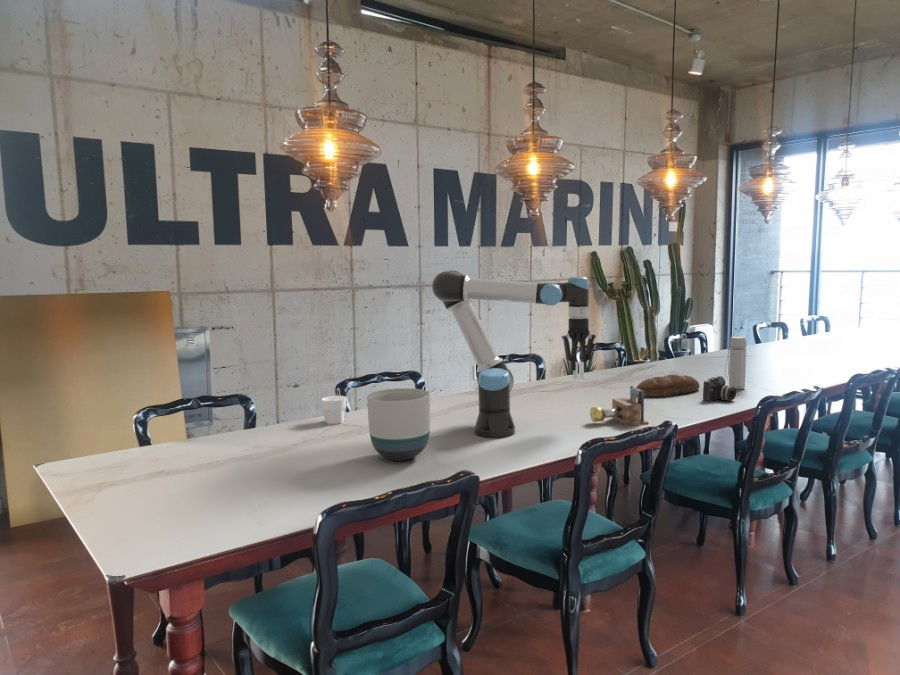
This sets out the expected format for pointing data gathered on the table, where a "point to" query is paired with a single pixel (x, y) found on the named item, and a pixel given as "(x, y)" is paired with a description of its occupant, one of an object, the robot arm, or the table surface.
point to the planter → (399, 422)
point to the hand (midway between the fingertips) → (578, 378)
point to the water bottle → (737, 362)
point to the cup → (334, 409)
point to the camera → (717, 390)
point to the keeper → (633, 395)
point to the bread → (668, 385)
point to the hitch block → (630, 410)
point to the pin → (604, 413)
